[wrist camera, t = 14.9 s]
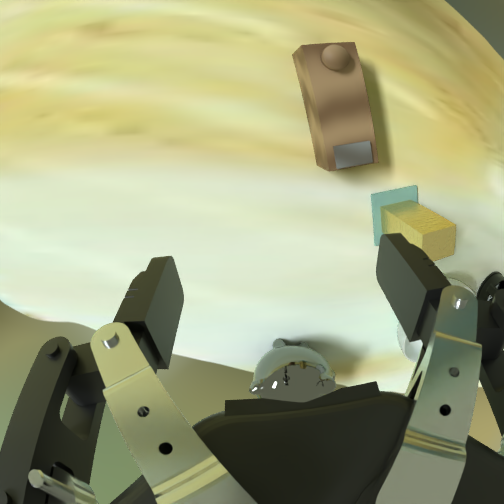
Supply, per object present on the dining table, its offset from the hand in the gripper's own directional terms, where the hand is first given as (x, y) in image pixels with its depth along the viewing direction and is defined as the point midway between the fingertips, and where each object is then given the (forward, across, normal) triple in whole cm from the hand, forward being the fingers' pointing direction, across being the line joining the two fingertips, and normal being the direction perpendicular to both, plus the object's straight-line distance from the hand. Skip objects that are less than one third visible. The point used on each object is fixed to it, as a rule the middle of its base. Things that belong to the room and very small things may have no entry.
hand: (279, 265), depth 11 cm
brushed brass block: (+27, -20, +12) cm, 36 cm away
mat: (+28, -20, +12) cm, 36 cm away
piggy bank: (+24, -2, +35) cm, 43 cm away
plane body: (+29, -10, -4) cm, 30 cm away
